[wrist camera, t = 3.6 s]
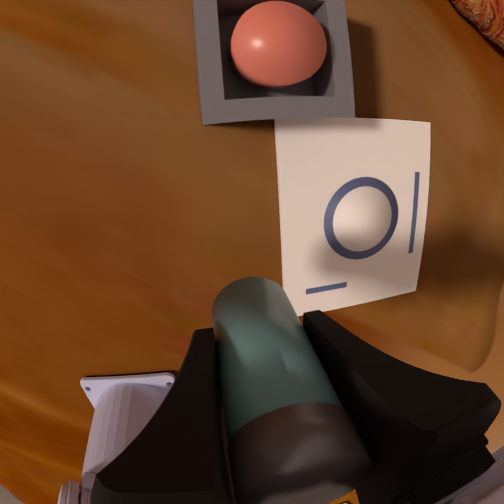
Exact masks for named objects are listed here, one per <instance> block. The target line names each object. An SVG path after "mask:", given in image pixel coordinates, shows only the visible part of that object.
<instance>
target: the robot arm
mask: <svg viewBox="0 0 504 504" xmlns="http://www.w3.org/2000/svg"><path fill="white" fill-rule="evenodd" d="M303 328H304V330H305V332H306V334H307V336H308V338H309V340H310V342H311V344H312V346H313V348H314V350H315V352H316V354H317V356H318V358H319V360H320V362H321V364H322V366H323V368H324V370H325V372H326V374H327V376H328V378H329V380H330V382H331V384H332V386H333V388H334V390H335V392H336V394H337V396H338V398H339V400H340V402H341V404H342V406H343V408H344V410H345V411H346V412H347V413H348V414H349V416H350V418H351V420H352V422H353V424H354V426H355V428H356V430H357V432H358V434H359V436H360V438H361V440H362V442H363V444H364V446H365V448H366V450H367V453H368V455H369V457H370V459H371V461H372V463H373V469H372V472H371V474H370V475H369V476H368V478H367V479H366V480H365V481H364V482H363V483H362V484H360V485H359V486H358V487H357V488H355V489H356V493H357V496H358V500H359V504H504V446H503V447H501V448H500V449H499V450H497V451H496V452H494V453H493V454H492V455H491V453H490V452H489V451H488V449H487V448H486V445H487V444H488V440H487V438H486V437H485V435H484V433H486V431H487V430H488V428H489V427H490V425H491V424H492V423H493V421H494V419H495V418H496V416H497V415H498V413H499V411H500V408H501V400H500V399H499V398H498V397H497V396H496V395H495V393H494V392H493V391H492V390H491V389H490V388H489V387H488V385H487V384H485V383H479V382H472V381H465V380H459V379H455V378H450V377H446V376H442V375H439V374H435V373H432V372H429V371H426V370H423V369H420V368H417V367H414V366H412V365H409V364H407V363H405V362H402V361H400V360H398V359H396V358H394V357H391V356H390V355H388V354H386V353H384V352H382V351H380V350H378V349H377V348H375V347H373V346H371V345H370V344H368V343H366V342H365V341H363V340H361V339H360V338H358V337H357V336H356V335H354V334H353V333H351V332H350V331H348V330H347V329H345V328H344V327H342V326H341V325H340V324H338V323H337V322H336V321H334V320H333V319H331V318H330V317H329V316H327V315H326V314H325V313H323V312H322V311H320V310H315V311H310V312H305V313H303ZM168 382H171V383H168ZM80 384H81V386H82V388H83V390H84V391H85V393H86V395H87V397H88V398H89V400H90V402H91V403H92V405H93V407H94V408H95V411H94V416H93V420H92V425H91V430H90V434H89V439H88V444H87V449H86V455H85V460H84V466H83V472H82V478H81V480H80V483H78V482H75V481H72V480H70V481H69V482H68V483H65V484H63V485H62V486H61V490H60V494H59V499H58V504H236V501H235V495H234V489H233V483H232V477H231V470H230V464H229V458H228V451H227V447H228V446H227V431H226V425H225V418H224V410H223V403H222V396H221V388H220V380H219V372H218V358H217V349H216V341H215V336H214V330H213V328H206V329H199V330H195V331H194V333H193V336H192V339H191V343H190V346H189V349H188V351H187V354H186V357H185V359H184V361H183V364H182V366H181V368H180V370H179V373H178V375H177V377H176V379H175V376H174V375H173V374H172V373H168V372H166V373H155V374H143V375H128V376H111V377H84V378H82V379H81V381H80ZM88 387H89V388H88Z"/></svg>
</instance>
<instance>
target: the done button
mask: <svg viewBox="0 0 504 504" xmlns="http://www.w3.org/2000/svg"><path fill="white" fill-rule="evenodd" d="M326 49H327V43H326V37H325V34H324V31H323V29H322V27H321V25H320V24H319V22H318V21H317V20H316V19H315V17H314V16H313V15H311V14H310V13H309V12H308V11H306V10H305V9H303V8H302V7H300V6H298V5H295V4H292V3H289V2H284V1H268V2H263V3H260V4H257V5H255V6H253V7H251V8H250V9H249V10H247V11H246V12H245V13H244V14H243V15H242V16H241V18H240V19H239V20H238V22H237V25H236V27H235V29H234V31H233V34H232V36H231V39H230V41H229V45H228V57H229V61H230V64H231V66H232V68H233V70H234V71H235V73H236V74H237V75H238V76H239V77H240V78H241V79H242V80H243V81H245V82H246V83H248V84H250V85H251V86H254V87H256V88H260V89H266V90H275V89H281V88H284V87H287V86H290V85H292V84H295V83H298V82H301V81H303V80H305V79H307V78H309V77H311V76H312V75H313V74H314V73H315V72H317V70H318V69H319V68H320V67H321V65H322V63H323V61H324V59H325V55H326Z"/></svg>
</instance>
